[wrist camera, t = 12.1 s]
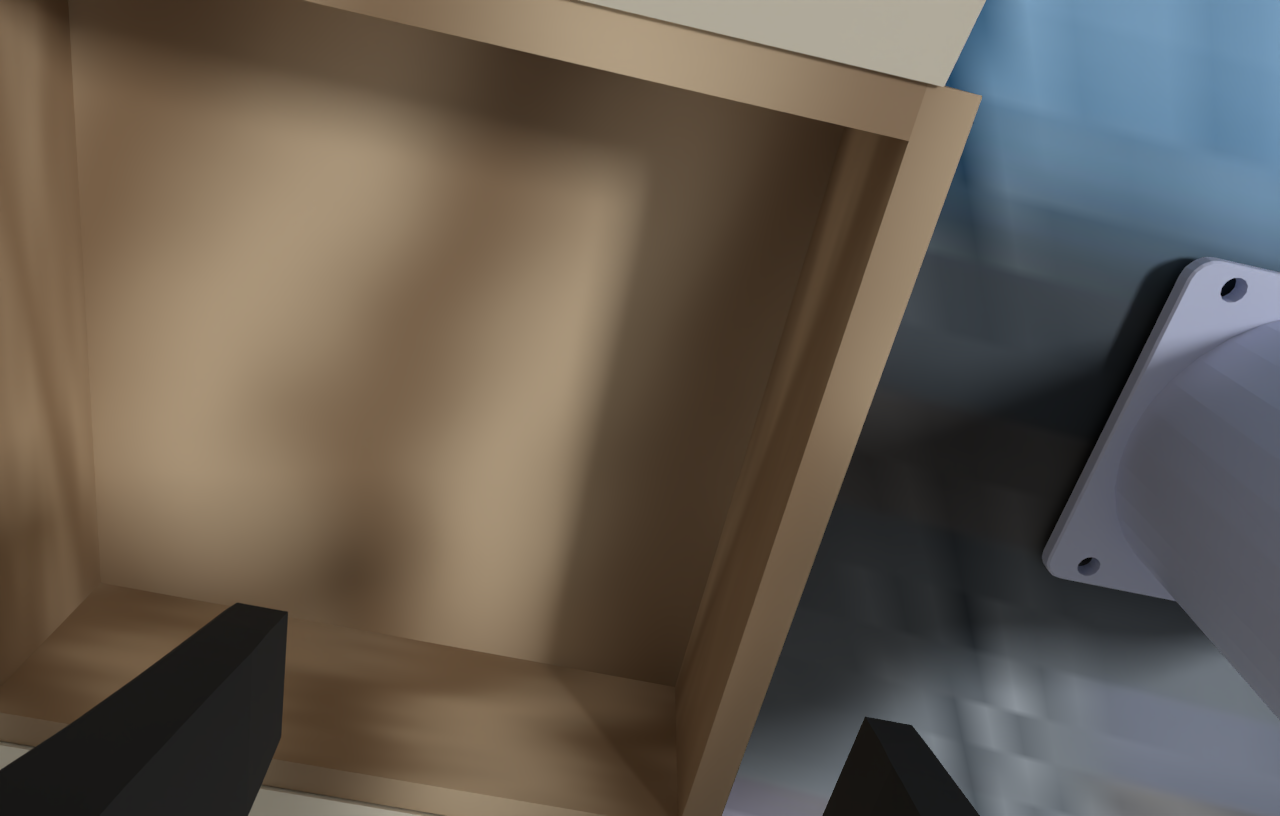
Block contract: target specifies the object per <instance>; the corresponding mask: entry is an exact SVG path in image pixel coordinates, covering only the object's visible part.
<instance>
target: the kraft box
mask: <svg viewBox="0 0 1280 816" xmlns="http://www.w3.org/2000/svg"><path fill="white" fill-rule="evenodd" d="M981 99H982V96H980V95H976V94H973V93H969V92H966V91H962V90H958V89H955V88H951V87H947V86H944V87H941V86H937V85H933V84H929V83H925V82H920V81H916V80H912V79H908V78H904V77H899V76H895V75H891V74H887V73H883V72H878V71H874V70H870V69H866V68H862V67H857V66H853V65H849V64H845V63H841V62H836V61H832V60H828V59H824V58H820V57H815V56H811V55H807V54H803V53H799V52H794V51H790V50H786V49H782V48H778V47H773V46H769V45H765V44H761V43H757V42H752V41H748V40H744V39H740V38H736V37H731V36H727V35H723V34H719V33H715V32H710V31H706V30H702V29H698V28H694V27H689V26H685V25H681V24H677V23H673V22H668V21H664V20H660V19H656V18H652V17H647V16H643V15H639V14H635V13H631V12H626V11H622V10H618V9H614V8H609V7H605V6H601V5H597V4H593V3H588V2H584V1H580V0H0V741H4V742H10V743H16V744H22V745H28V746H34V747H36V746H37V745H39V744H40V743H42V742H44V741H45V740H47V739H48V738H50V737H51V736H53V735H54V734H56V733H57V732H59V731H60V730H62V729H63V728H65V727H66V726H68V725H69V724H70V723H72V722H73V721H75V720H76V719H78V718H79V717H81V716H82V715H83V714H85V713H86V712H88V711H89V710H90V709H92V708H93V707H95V706H96V705H97V704H99V703H100V702H102V701H103V700H104V699H106V698H107V697H109V696H110V695H111V694H113V693H114V692H116V691H117V690H119V689H120V688H121V687H123V686H124V685H126V684H127V683H128V682H130V681H131V680H133V679H134V678H135V677H137V676H138V675H139V674H141V673H142V672H143V671H145V670H146V669H147V668H149V667H150V666H152V665H153V664H154V663H156V662H157V661H158V660H160V659H161V658H162V657H164V656H165V655H166V654H168V653H169V652H170V651H172V650H173V649H174V648H176V647H177V646H178V645H180V644H181V643H182V642H184V641H185V640H186V639H188V638H189V637H190V636H191V635H193V634H194V633H195V632H197V631H198V630H199V629H201V628H202V627H203V626H205V625H206V624H207V623H208V622H210V621H211V620H212V619H214V618H215V617H216V616H218V615H219V614H220V613H222V612H223V611H224V610H226V609H227V608H229V607H230V606H232V605H234V604H235V603H243V604H248V605H254V606H259V607H265V608H270V609H276V610H281V611H287V612H288V625H287V643H286V661H285V679H284V697H283V715H282V733H281V739H280V741H279V744H278V746H277V749H276V751H275V753H274V756H273V758H272V761H271V763H270V766H269V768H268V770H267V773H266V775H265V778H264V780H263V783H262V785H266V786H272V787H278V788H284V789H290V790H296V791H302V792H308V793H314V794H320V795H326V796H332V797H338V798H344V799H350V800H356V801H362V802H368V803H374V804H380V805H386V806H392V807H398V808H404V809H410V810H416V811H422V812H428V813H434V814H440V815H446V816H722V813H723V811H724V808H725V805H726V802H727V800H728V797H729V794H730V791H731V788H732V786H733V783H734V780H735V777H736V775H737V772H738V769H739V766H740V764H741V761H742V758H743V755H744V753H745V750H746V747H747V744H748V742H749V739H750V736H751V733H752V731H753V728H754V725H755V722H756V719H757V717H758V714H759V711H760V708H761V706H762V703H763V700H764V697H765V695H766V692H767V689H768V686H769V684H770V681H771V678H772V675H773V673H774V670H775V667H776V664H777V662H778V659H779V656H780V653H781V651H782V648H783V645H784V642H785V639H786V637H787V634H788V631H789V628H790V626H791V623H792V620H793V617H794V615H795V612H796V609H797V606H798V604H799V601H800V598H801V595H802V593H803V590H804V587H805V584H806V582H807V579H808V576H809V573H810V571H811V568H812V565H813V562H814V559H815V557H816V554H817V551H818V548H819V546H820V543H821V540H822V537H823V535H824V532H825V529H826V526H827V524H828V521H829V518H830V515H831V513H832V510H833V507H834V504H835V502H836V499H837V496H838V493H839V491H840V488H841V485H842V482H843V479H844V477H845V474H846V471H847V468H848V466H849V463H850V460H851V457H852V455H853V452H854V449H855V446H856V444H857V441H858V438H859V435H860V433H861V430H862V427H863V424H864V422H865V419H866V416H867V413H868V411H869V408H870V405H871V402H872V399H873V397H874V394H875V391H876V388H877V386H878V383H879V380H880V377H881V375H882V372H883V369H884V366H885V364H886V361H887V358H888V355H889V353H890V350H891V347H892V344H893V342H894V339H895V336H896V333H897V330H898V328H899V325H900V322H901V319H902V317H903V314H904V311H905V308H906V306H907V303H908V300H909V297H910V295H911V292H912V289H913V286H914V284H915V281H916V278H917V275H918V273H919V270H920V267H921V264H922V262H923V259H924V256H925V253H926V250H927V248H928V245H929V242H930V239H931V237H932V234H933V231H934V228H935V226H936V223H937V220H938V217H939V215H940V212H941V209H942V206H943V204H944V201H945V198H946V195H947V193H948V190H949V187H950V184H951V182H952V179H953V176H954V173H955V170H956V168H957V165H958V162H959V159H960V157H961V154H962V151H963V148H964V146H965V143H966V140H967V137H968V135H969V132H970V129H971V126H972V124H973V121H974V118H975V115H976V113H977V110H978V107H979V104H980V102H981Z"/></svg>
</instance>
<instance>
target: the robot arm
mask: <svg viewBox="0 0 1280 816" xmlns="http://www.w3.org/2000/svg"><path fill="white" fill-rule="evenodd" d="M1233 278H1235V279H1236V284H1235V287H1234V289H1233V290H1232V291H1231V292H1230V293H1229V294H1227V295H1225V296H1221V294H1220V293H1221V289H1222V287H1223V286H1224V284H1225V283H1226V282H1227V281H1229V280H1231V279H1233ZM1090 557H1092V560H1091V561H1090V562H1089V563H1088V564H1086V565H1083V566H1078V564H1079V563H1080V562H1081V561H1082V560H1084V559H1086V558H1090ZM1042 560H1043V564H1044V565H1045V567H1046V568H1047V570H1048V571H1049V572H1050V573H1051V574H1052V575H1053V576H1055V577H1058V578H1061V579H1066V580H1071V581H1076V582H1081V583H1086V584H1091V585H1096V586H1101V587H1106V588H1111V589H1116V590H1121V591H1127V592H1132V593H1137V594H1142V595H1147V596H1152V597H1157V598H1162V599H1167V600H1172V601H1176V602H1177V603H1178V604H1179V605H1180V606H1181V607H1182V609H1183V610H1184V611H1185V612H1186V613H1187V614H1188V615H1189V617H1190V618H1191V619H1192V620H1193V621H1194V622H1195V623H1196V625H1197V626H1198V627H1199V628H1200V629H1201V630H1202V632H1203V633H1204V634H1205V635H1206V636H1207V637H1208V638H1209V640H1210V641H1211V642H1212V643H1213V644H1214V645H1215V646H1216V648H1217V649H1218V650H1219V651H1220V652H1221V653H1222V654H1223V656H1224V657H1225V658H1226V659H1227V660H1228V661H1229V663H1230V664H1231V665H1232V666H1233V667H1234V668H1235V669H1236V671H1237V672H1238V673H1239V674H1240V675H1241V676H1242V677H1243V679H1244V680H1245V681H1246V682H1247V683H1248V684H1249V685H1250V687H1251V688H1252V689H1253V690H1254V691H1255V692H1256V694H1257V695H1258V696H1259V697H1260V698H1261V699H1262V700H1263V702H1264V703H1265V704H1266V705H1267V706H1268V707H1269V708H1270V710H1271V711H1272V712H1273V713H1274V714H1275V715H1276V716H1277V718H1278V719H1279V720H1280V272H1276V271H1271V270H1267V269H1263V268H1258V267H1254V266H1250V265H1245V264H1241V263H1236V262H1232V261H1228V260H1223V259H1219V258H1215V257H1203V258H1200V259H1197V260H1194V261H1193V262H1191V263H1190V264H1189V265H1187V266H1186V267H1185V268H1184V269H1183V271H1182V272H1181V274H1180V275H1179V277H1178V279H1177V281H1176V283H1175V285H1174V287H1173V289H1172V291H1171V293H1170V295H1169V297H1168V299H1167V301H1166V303H1165V305H1164V307H1163V309H1162V311H1161V313H1160V315H1159V317H1158V319H1157V322H1156V324H1155V326H1154V328H1153V330H1152V332H1151V334H1150V336H1149V338H1148V340H1147V342H1146V344H1145V346H1144V348H1143V350H1142V352H1141V354H1140V356H1139V358H1138V360H1137V362H1136V364H1135V366H1134V368H1133V370H1132V372H1131V374H1130V376H1129V378H1128V380H1127V382H1126V384H1125V386H1124V388H1123V390H1122V392H1121V394H1120V396H1119V398H1118V400H1117V402H1116V405H1115V407H1114V409H1113V411H1112V413H1111V415H1110V417H1109V419H1108V421H1107V423H1106V425H1105V427H1104V429H1103V431H1102V433H1101V435H1100V437H1099V439H1098V441H1097V443H1096V445H1095V447H1094V449H1093V451H1092V453H1091V455H1090V457H1089V459H1088V461H1087V463H1086V465H1085V467H1084V469H1083V471H1082V473H1081V475H1080V477H1079V479H1078V481H1077V483H1076V485H1075V488H1074V490H1073V492H1072V494H1071V496H1070V498H1069V500H1068V502H1067V504H1066V506H1065V508H1064V510H1063V512H1062V514H1061V516H1060V518H1059V520H1058V522H1057V524H1056V526H1055V528H1054V530H1053V532H1052V534H1051V536H1050V538H1049V540H1048V542H1047V544H1046V546H1045V548H1044V550H1043V554H1042ZM287 625H288V612H287V611H281V610H276V609H270V608H265V607H259V606H254V605H248V604H243V603H235V604H234V605H232V606H230V607H229V608H227V609H226V610H224V611H223V612H222V613H220V614H219V615H218V616H216V617H215V618H214V619H212V620H211V621H210V622H208V623H207V624H206V625H205V626H203V627H202V628H201V629H199V630H198V631H197V632H195V633H194V634H193V635H191V636H190V637H189V638H188V639H186V640H185V641H184V642H182V643H181V644H180V645H178V646H177V647H176V648H174V649H173V650H172V651H170V652H169V653H168V654H166V655H165V656H164V657H162V658H161V659H160V660H158V661H157V662H156V663H154V664H153V665H152V666H150V667H149V668H147V669H146V670H145V671H143V672H142V673H141V674H139V675H138V676H137V677H135V678H134V679H133V680H131V681H130V682H128V683H127V684H126V685H124V686H123V687H121V688H120V689H119V690H117V691H116V692H114V693H113V694H111V695H110V696H109V697H107V698H106V699H104V700H103V701H102V702H100V703H99V704H97V705H96V706H95V707H93V708H92V709H90V710H89V711H88V712H86V713H85V714H83V715H82V716H81V717H79V718H78V719H76V720H75V721H73V722H72V723H70V724H69V725H68V726H66V727H65V728H63V729H62V730H60V731H59V732H57V733H56V734H54V735H53V736H51V737H50V738H48V739H47V740H45V741H44V742H42V743H40V744H39V745H37V746H36V747H34V748H33V749H31V750H30V751H28V752H27V753H25V754H24V755H22V756H21V757H19V758H17V759H16V760H14V761H13V762H11V763H10V764H8V765H7V766H5V767H4V768H2V769H1V770H0V816H248V815H249V813H250V810H251V808H252V806H253V803H254V801H255V799H256V796H257V794H258V792H259V789H260V787H261V785H262V783H263V780H264V778H265V775H266V773H267V770H268V768H269V766H270V763H271V761H272V758H273V756H274V753H275V751H276V749H277V746H278V744H279V741H280V739H281V733H282V715H283V697H284V679H285V661H286V643H287ZM823 816H980V815H979V814H978V813H977V811H976V810H975V809H974V807H973V806H972V805H971V803H970V802H969V801H968V799H967V798H966V797H965V795H964V794H963V793H962V791H961V790H960V789H959V787H958V786H957V785H956V783H955V782H954V780H953V779H952V778H951V776H950V775H949V774H948V772H947V771H946V770H945V768H944V767H943V766H942V764H941V763H940V762H939V760H938V759H937V758H936V756H935V755H934V754H933V752H932V751H931V750H930V748H929V747H928V746H927V744H926V743H925V742H924V740H923V739H922V738H921V736H920V735H919V734H918V733H917V731H916V730H915V729H914V728H913V726H912V725H907V724H902V723H896V722H891V721H885V720H880V719H874V718H869V717H865V718H864V721H863V723H862V725H861V728H860V730H859V732H858V735H857V737H856V739H855V742H854V744H853V746H852V749H851V751H850V753H849V756H848V758H847V760H846V762H845V765H844V767H843V769H842V772H841V774H840V776H839V779H838V781H837V783H836V786H835V788H834V790H833V793H832V795H831V797H830V800H829V802H828V804H827V806H826V809H825V811H824V813H823Z"/></svg>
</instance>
